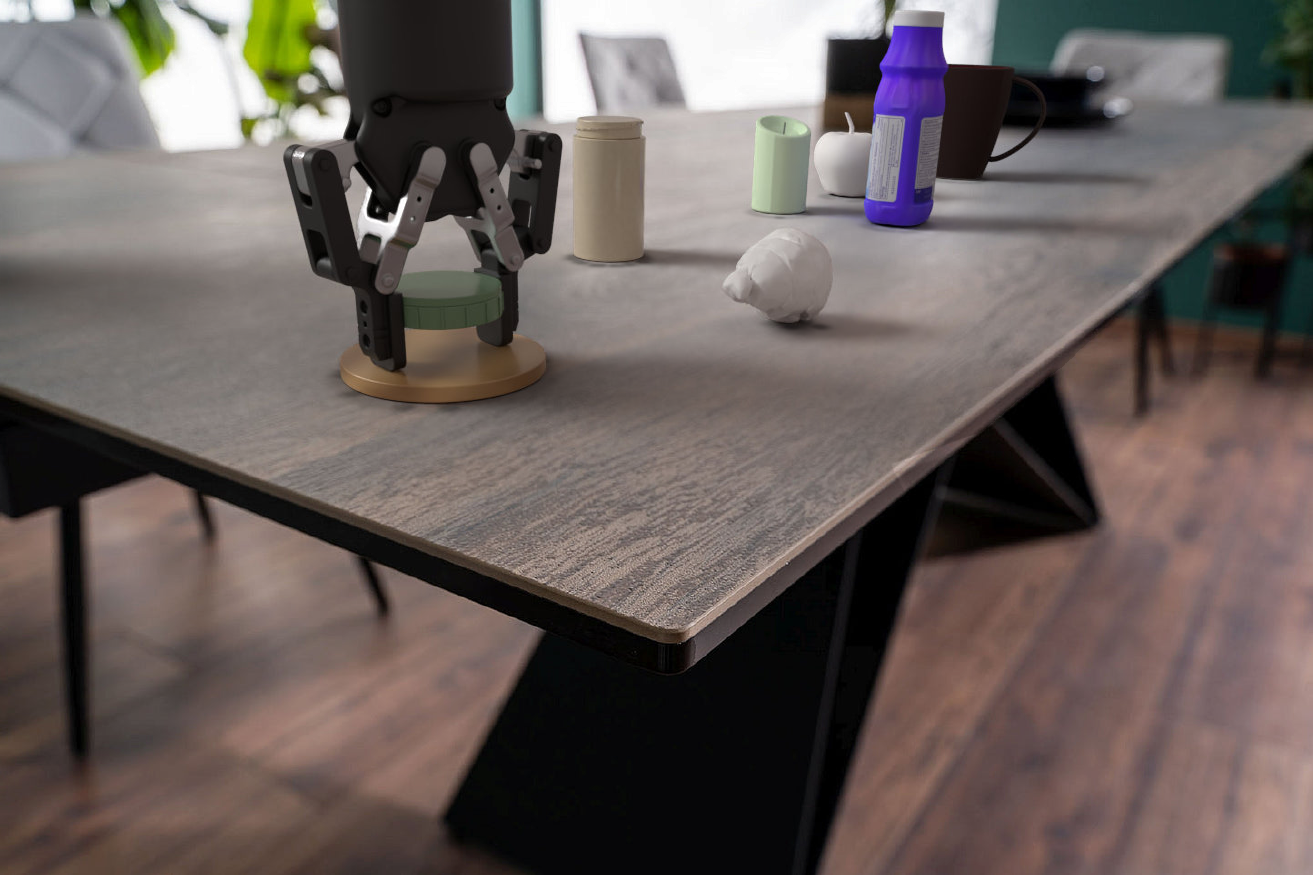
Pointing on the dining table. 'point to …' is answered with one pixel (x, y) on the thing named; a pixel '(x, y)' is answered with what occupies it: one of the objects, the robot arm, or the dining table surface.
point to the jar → (608, 188)
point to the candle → (780, 165)
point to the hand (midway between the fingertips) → (444, 352)
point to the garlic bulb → (783, 276)
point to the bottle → (907, 121)
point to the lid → (450, 299)
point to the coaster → (447, 368)
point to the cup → (977, 118)
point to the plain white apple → (843, 161)
